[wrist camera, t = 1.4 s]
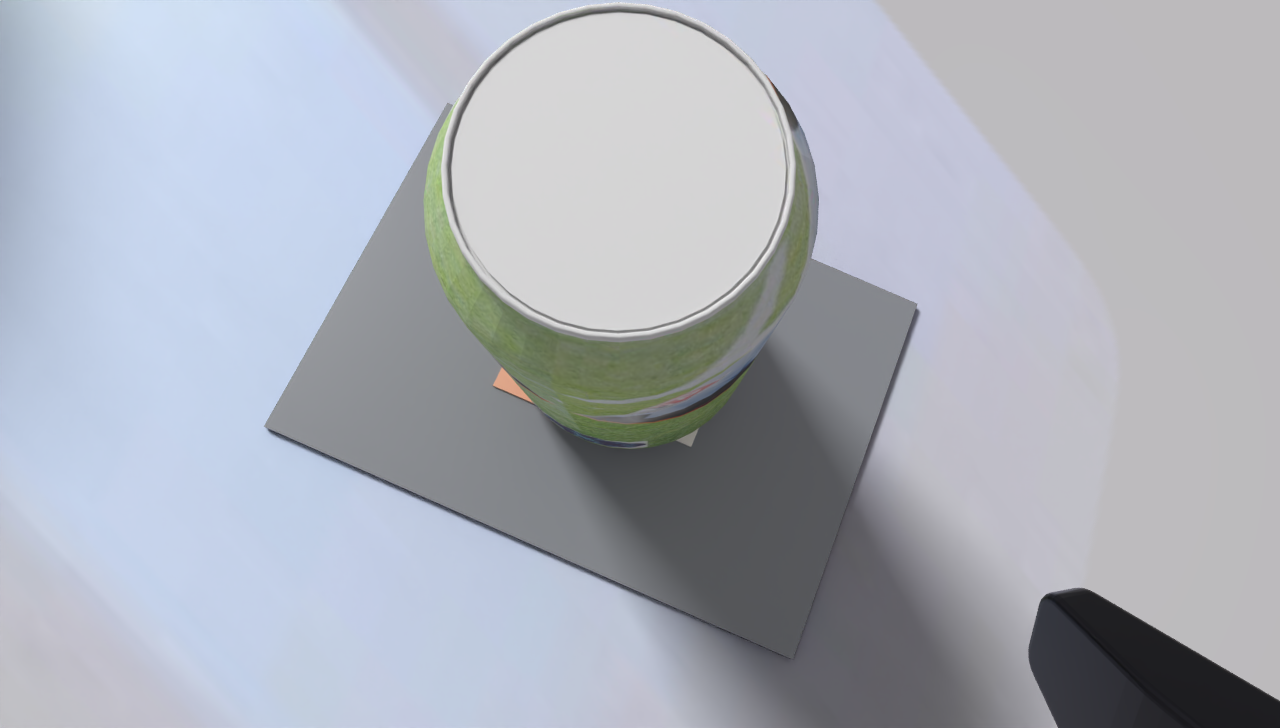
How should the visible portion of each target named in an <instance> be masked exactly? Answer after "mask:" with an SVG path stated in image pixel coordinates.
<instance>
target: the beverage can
mask: <svg viewBox="0 0 1280 728" xmlns="http://www.w3.org/2000/svg"><path fill="white" fill-rule="evenodd" d="M423 201H424V220H425V235H426V239H427V244H428V248H429V252H430V256H431V260H432V264H433V268H434V270H435V272H436V275H437V277H438V279H439V281H440V283H441V286H442V288H443V290H444V292H445V295H446V297H447V299H448V301H449V302H450V304H451V305H452V306H453V308H454V309H455V311H456V312H457V314H458V315H459V317H460V318H461V320H462V321H463V322H464V324H465V325H466V327H467V328H468V329H469V330H470V331H471V333H472V334H473V335H474V336H475V337H476V338H477V339H478V341H479V342H480V343H481V344H482V345H483V346H484V347H485V348H486V350H487V351H488V352H489V353H490V354H491V355H492V356H493V358H494V359H495V360H496V361H497V362H498V363H499V364H500V365H501V367H502V368H503V369H504V370H505V371H506V372H507V373H508V375H509V376H510V377H511V378H512V379H513V380H514V381H515V382H516V384H517V385H518V386H519V387H520V388H521V389H522V390H523V392H524V393H525V394H526V395H527V396H528V397H529V398H530V399H531V401H532V402H533V403H534V404H535V405H536V406H537V407H538V408H539V409H540V410H541V411H542V412H543V413H544V414H545V415H546V416H547V417H548V418H549V419H550V420H551V421H552V422H554V423H555V424H556V425H558V426H559V427H561V428H562V429H564V430H565V431H566V432H568V433H570V434H572V435H574V436H576V437H578V438H580V439H583V440H585V441H587V442H590V443H594V444H598V445H601V446H605V447H609V448H621V449H639V448H650V447H655V446H659V445H662V444H666V443H670V442H673V441H675V440H678V439H680V438H682V437H684V436H686V435H688V434H690V433H692V432H694V431H695V430H697V429H698V428H699V427H701V426H702V425H704V424H705V423H707V422H708V421H709V420H711V419H712V418H713V417H714V416H715V414H716V413H717V412H718V411H719V410H720V409H721V408H722V407H723V406H724V405H725V404H726V403H727V401H728V400H729V398H730V397H731V395H732V394H733V392H734V391H735V390H736V388H737V387H738V385H739V383H740V382H741V380H742V379H743V377H744V376H745V374H746V373H747V371H748V370H749V368H750V366H751V365H752V363H753V362H754V360H755V359H756V357H757V356H758V354H759V353H760V351H761V350H762V348H763V346H764V345H765V343H766V342H767V340H768V339H769V337H770V336H771V334H772V333H773V331H774V329H775V328H776V326H777V325H778V323H779V322H780V320H781V319H782V317H783V316H784V314H785V312H786V311H787V309H788V308H789V306H790V305H791V303H792V302H793V300H794V299H795V297H796V294H797V292H798V290H799V288H800V285H801V283H802V281H803V279H804V276H805V274H806V272H807V270H808V267H809V264H810V260H811V256H812V252H813V248H814V243H815V239H816V235H817V225H818V206H819V196H818V188H817V181H816V173H815V165H814V162H813V159H812V156H811V153H810V150H809V146H808V143H807V140H806V137H805V134H804V132H803V130H802V128H801V126H800V124H799V122H798V120H797V118H796V117H795V115H794V113H793V111H792V109H791V107H790V105H789V103H788V102H787V101H786V100H785V98H784V97H783V96H782V95H781V93H780V92H779V91H778V89H777V88H776V87H775V86H774V84H773V83H772V82H771V80H770V79H769V78H768V77H767V76H766V75H765V74H764V73H763V72H762V71H761V70H760V69H759V67H758V66H757V65H756V64H755V62H754V61H753V60H752V59H751V58H750V57H749V56H748V55H747V54H746V53H745V52H744V51H743V50H742V49H740V48H739V47H738V46H737V45H736V44H735V43H734V42H733V41H732V40H730V39H729V38H728V37H726V36H724V35H723V34H721V33H720V32H718V31H716V30H715V29H713V28H712V27H710V26H709V25H707V24H705V23H703V22H701V21H699V20H696V19H694V18H691V17H689V16H687V15H684V14H682V13H680V12H677V11H673V10H669V9H664V8H660V7H656V6H652V5H647V4H633V3H620V2H617V3H606V4H595V5H587V6H583V7H579V8H575V9H571V10H567V11H563V12H559V13H557V14H555V15H552V16H550V17H548V18H545V19H543V20H541V21H538V22H536V23H534V24H532V25H530V26H529V27H527V28H526V29H524V30H522V31H521V32H519V33H518V34H516V35H515V36H513V37H512V38H510V39H509V40H507V41H506V42H505V43H504V44H503V45H502V46H501V47H499V48H498V49H497V50H496V51H495V52H494V53H493V54H492V55H491V56H490V57H488V58H487V59H486V60H485V61H484V63H483V64H482V65H481V67H480V68H479V69H478V71H477V72H476V73H475V74H474V76H473V77H472V78H471V80H470V81H469V82H468V83H467V85H466V87H465V89H464V91H463V93H462V94H461V96H460V97H459V98H458V99H457V101H456V102H455V103H454V105H453V107H452V109H451V111H450V112H449V114H448V116H447V118H446V120H445V122H444V124H443V126H442V128H441V129H440V131H439V133H438V136H437V139H436V142H435V145H434V148H433V151H432V155H431V158H430V161H429V164H428V168H427V176H426V184H425V192H424V199H423Z"/></svg>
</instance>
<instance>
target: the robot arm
mask: <svg viewBox="0 0 1280 728" xmlns="http://www.w3.org/2000/svg"><path fill="white" fill-rule="evenodd" d="M1029 662H1030V666H1031V670H1032V672H1033V675H1034V677H1035V679H1036V681H1037V683H1038V686H1039V688H1040V690H1041V692H1042V694H1043V696H1044V698H1045V701H1046V703H1047V705H1048V707H1049V709H1050V711H1051V713H1052V716H1053V718H1054V720H1055V722H1056V724H1057V726H1058V728H1280V701H1279V700H1277V699H1275V698H1274V697H1272V696H1270V695H1269V694H1267V693H1265V692H1263V691H1262V690H1260V689H1259V688H1257V687H1255V686H1253V685H1252V684H1250V683H1248V682H1247V681H1245V680H1243V679H1241V678H1240V677H1238V676H1236V675H1235V674H1233V673H1231V672H1229V671H1228V670H1226V669H1224V668H1222V667H1221V666H1219V665H1217V664H1216V663H1214V662H1212V661H1211V660H1209V659H1207V658H1206V657H1204V656H1202V655H1200V654H1199V653H1197V652H1195V651H1193V650H1191V649H1190V648H1188V647H1187V646H1185V645H1183V644H1181V643H1180V642H1178V641H1176V640H1175V639H1173V638H1171V637H1170V636H1168V635H1166V634H1164V633H1163V632H1161V631H1159V630H1158V629H1156V628H1154V627H1153V626H1151V625H1149V624H1147V623H1146V622H1144V621H1142V620H1141V619H1139V618H1137V617H1135V616H1134V615H1132V614H1130V613H1129V612H1127V611H1125V610H1123V609H1122V608H1120V607H1118V606H1117V605H1115V604H1113V603H1111V602H1110V601H1108V600H1106V599H1104V598H1103V597H1101V596H1099V595H1098V594H1096V593H1094V592H1092V591H1090V590H1088V589H1085V588H1073V589H1068V590H1062V591H1057V592H1052V593H1049V594H1046V595H1045V596H1044V597H1043V598H1042V599H1041V601H1040V604H1039V608H1038V612H1037V616H1036V620H1035V624H1034V628H1033V632H1032V636H1031V640H1030V644H1029Z"/></svg>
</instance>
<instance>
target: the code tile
mask: <svg viewBox="0 0 1280 728" xmlns="http://www.w3.org/2000/svg"><path fill="white" fill-rule="evenodd" d="M452 107H453V105H451V104H449V103H447V105H446V107H445V108H444V110H443V112H442V114H441V115H440V117H439V119H438V121H437V122H436V124H435V126H434V128H433V129H432V131H431V133H430V135H429V136H428V138H427V140H426V142H425V144H424V145H423V147H422V149H421V151H420V152H419V154H418V156H417V158H416V159H415V161H414V163H413V165H412V166H411V168H410V170H409V172H408V173H407V175H406V177H405V179H404V181H403V182H402V184H401V186H400V188H399V189H398V191H397V193H396V195H395V196H394V198H393V200H392V202H391V203H390V205H389V207H388V209H387V210H386V212H385V214H384V216H383V218H382V219H381V221H380V223H379V225H378V226H377V228H376V230H375V232H374V233H373V235H372V237H371V239H370V240H369V242H368V244H367V246H366V247H365V249H364V251H363V253H362V255H361V256H360V258H359V260H358V262H357V263H356V265H355V267H354V269H353V270H352V272H351V274H350V276H349V277H348V279H347V281H346V283H345V284H344V286H343V288H342V290H341V292H340V293H339V295H338V297H337V299H336V300H335V302H334V304H333V306H332V307H331V309H330V311H329V313H328V314H327V316H326V318H325V320H324V322H323V323H322V325H321V327H320V329H319V330H318V332H317V334H316V336H315V337H314V339H313V341H312V343H311V344H310V346H309V348H308V350H307V351H306V353H305V355H304V357H303V359H302V360H301V362H300V364H299V366H298V367H297V369H296V371H295V373H294V374H293V376H292V378H291V380H290V381H289V383H288V385H287V387H286V388H285V390H284V392H283V394H282V396H281V397H280V399H279V401H278V403H277V404H276V406H275V408H274V410H273V411H272V413H271V415H270V417H269V418H268V420H267V422H266V424H265V425H264V427H265V428H267V429H270V430H272V431H274V432H277V433H279V434H281V435H283V436H286V437H288V438H290V439H292V440H295V441H297V442H299V443H302V444H304V445H306V446H308V447H311V448H313V449H315V450H317V451H320V452H322V453H324V454H326V455H329V456H331V457H333V458H336V459H338V460H340V461H342V462H345V463H347V464H349V465H351V466H354V467H356V468H358V469H361V470H363V471H365V472H367V473H370V474H372V475H374V476H376V477H379V478H381V479H383V480H386V481H388V482H390V483H392V484H395V485H397V486H399V487H401V488H404V489H406V490H408V491H410V492H413V493H415V494H417V495H420V496H422V497H424V498H426V499H429V500H431V501H433V502H435V503H438V504H440V505H442V506H445V507H447V508H449V509H451V510H454V511H456V512H458V513H460V514H463V515H465V516H467V517H470V518H472V519H474V520H476V521H479V522H481V523H483V524H485V525H488V526H490V527H492V528H494V529H497V530H499V531H501V532H504V533H506V534H508V535H510V536H513V537H515V538H517V539H519V540H522V541H524V542H526V543H529V544H531V545H533V546H535V547H538V548H540V549H542V550H544V551H547V552H549V553H551V554H554V555H556V556H558V557H560V558H563V559H565V560H567V561H569V562H572V563H574V564H576V565H578V566H581V567H583V568H585V569H588V570H590V571H592V572H594V573H597V574H599V575H601V576H603V577H606V578H608V579H610V580H613V581H615V582H617V583H619V584H622V585H624V586H626V587H628V588H631V589H633V590H635V591H638V592H640V593H642V594H644V595H647V596H649V597H651V598H653V599H656V600H658V601H660V602H662V603H665V604H667V605H669V606H672V607H674V608H676V609H678V610H681V611H683V612H685V613H687V614H690V615H692V616H694V617H697V618H699V619H701V620H703V621H706V622H708V623H710V624H712V625H715V626H717V627H719V628H722V629H724V630H726V631H728V632H731V633H733V634H735V635H737V636H740V637H742V638H744V639H746V640H749V641H751V642H753V643H756V644H758V645H760V646H762V647H765V648H767V649H769V650H771V651H774V652H776V653H778V654H781V655H783V656H785V657H787V658H790V659H793V658H794V655H795V652H796V649H797V647H798V644H799V641H800V638H801V635H802V632H803V629H804V627H805V624H806V621H807V618H808V615H809V612H810V609H811V607H812V604H813V601H814V598H815V595H816V592H817V589H818V587H819V584H820V581H821V578H822V575H823V572H824V569H825V567H826V564H827V561H828V558H829V555H830V552H831V549H832V547H833V544H834V541H835V538H836V535H837V532H838V529H839V527H840V524H841V521H842V518H843V515H844V512H845V509H846V507H847V504H848V501H849V498H850V495H851V492H852V489H853V487H854V484H855V481H856V478H857V475H858V472H859V469H860V467H861V464H862V461H863V458H864V455H865V452H866V449H867V447H868V444H869V441H870V438H871V435H872V432H873V429H874V427H875V424H876V421H877V418H878V415H879V412H880V409H881V407H882V404H883V401H884V398H885V395H886V392H887V389H888V387H889V384H890V381H891V378H892V375H893V372H894V369H895V367H896V364H897V361H898V358H899V355H900V352H901V350H902V347H903V344H904V341H905V338H906V335H907V332H908V330H909V327H910V324H911V321H912V318H913V315H914V312H915V310H916V307H917V304H916V303H914V302H912V301H909V300H907V299H905V298H902V297H900V296H898V295H895V294H893V293H891V292H888V291H886V290H884V289H881V288H879V287H877V286H874V285H872V284H870V283H867V282H865V281H863V280H860V279H858V278H856V277H853V276H851V275H849V274H846V273H844V272H842V271H839V270H837V269H835V268H832V267H830V266H828V265H825V264H823V263H821V262H818V261H816V260H814V259H811V260H810V264H809V267H808V270H807V272H806V274H805V276H804V279H803V281H802V283H801V285H800V288H799V290H798V292H797V294H796V297H795V299H794V300H793V302H792V303H791V305H790V306H789V308H788V309H787V311H786V312H785V314H784V316H783V317H782V319H781V320H780V322H779V323H778V325H777V326H776V328H775V329H774V331H773V333H772V334H771V336H770V337H769V339H768V340H767V342H766V343H765V345H764V346H763V348H762V350H761V351H760V353H759V354H758V356H757V357H756V359H755V360H754V362H753V363H752V365H751V366H750V368H749V370H748V371H747V373H746V374H745V376H744V377H743V379H742V380H741V382H740V383H739V385H738V387H737V388H736V390H735V391H734V392H733V394H732V395H731V397H730V398H729V400H728V401H727V403H726V404H725V405H724V406H723V407H722V408H721V409H720V410H719V411H718V412H717V413H716V414H715V416H714V417H713V418H712V419H711V420H709V421H708V422H707V423H705V424H704V425H702V426H701V427H699V428H698V429H697V430H695V431H694V432H692V433H690V434H688V435H686V436H684V437H682V438H680V439H678V440H675V441H673V442H670V443H666V444H662V445H659V446H655V447H650V448H639V449H621V448H609V447H605V446H601V445H598V444H594V443H590V442H587V441H585V440H583V439H580V438H578V437H576V436H574V435H572V434H570V433H568V432H566V431H565V430H564V429H562V428H561V427H559V426H558V425H556V424H555V423H554V422H552V421H551V420H550V419H549V418H548V417H547V416H546V415H545V414H544V413H543V412H542V411H541V410H540V409H539V408H538V407H537V406H536V405H535V404H534V403H533V402H532V401H531V399H530V398H529V397H528V396H527V395H526V394H525V393H524V392H523V390H522V389H521V388H520V387H519V386H518V385H517V384H516V382H515V381H514V380H513V379H512V378H511V377H510V376H509V375H508V373H507V372H506V371H505V370H504V369H503V368H502V367H501V365H500V364H499V363H498V362H497V361H496V360H495V359H494V358H493V356H492V355H491V354H490V353H489V352H488V351H487V350H486V348H485V347H484V346H483V345H482V344H481V343H480V342H479V341H478V339H477V338H476V337H475V336H474V335H473V334H472V333H471V331H470V330H469V329H468V328H467V327H466V325H465V324H464V322H463V321H462V320H461V318H460V317H459V315H458V314H457V312H456V311H455V309H454V308H453V306H452V305H451V304H450V302H449V301H448V299H447V297H446V295H445V292H444V290H443V288H442V286H441V283H440V281H439V279H438V277H437V275H436V272H435V270H434V268H433V264H432V260H431V256H430V252H429V248H428V244H427V239H426V235H425V220H424V201H423V199H424V192H425V184H426V176H427V168H428V164H429V161H430V158H431V155H432V151H433V148H434V145H435V142H436V139H437V136H438V133H439V131H440V129H441V128H442V126H443V124H444V122H445V120H446V118H447V116H448V114H449V112H450V111H451V109H452Z"/></svg>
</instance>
